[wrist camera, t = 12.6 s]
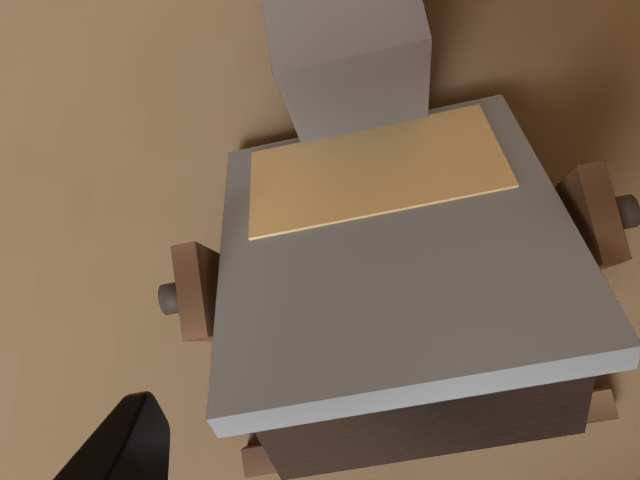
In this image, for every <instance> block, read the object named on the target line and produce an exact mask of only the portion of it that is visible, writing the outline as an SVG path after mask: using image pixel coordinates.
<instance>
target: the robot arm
mask: <svg viewBox="0 0 640 480" xmlns="http://www.w3.org/2000/svg"><path fill="white" fill-rule="evenodd" d="M169 449H170V427H169V424H168V421H167V419H166V417H165V415H164V413H163V411H162V410H161V408H160V406H159V404H158V402H157V400H156V399H155V397H154V395H153V394H152V393H151V392H147V391H145V392H139V393H133V394H129V395H126V396H125V397H124V398H123V399H122V400H121V401H120V402H119V403H118V404H117V406H116V407H115V408H114V409H113V410H112V411H111V413H110V414H109V415H108V416H107V417H106V418H105V420H104V421H103V422H102V423H101V424H100V425H99V427H98V428H97V429H96V430H95V431H94V432H93V433H92V435H91V436H90V437H89V438H88V439H87V440H86V442H85V443H84V444H83V445H82V446H81V447H80V449H79V450H78V451H77V452H76V453H75V454H74V456H73V457H72V458H71V459H70V460H69V461H68V463H67V464H66V465H65V466H64V467H63V468H62V470H61V471H60V472H59V473H58V474H57V475H56V477H55V478H54V479H53V480H168V468H169Z"/></svg>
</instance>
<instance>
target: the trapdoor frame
mask: <svg viewBox="0 0 640 480" xmlns="http://www.w3.org/2000/svg"><path fill="white" fill-rule="evenodd" d="M555 190H556V192H557V193H558V195H559V197H560V199H561V201H562V202H563V204H564V206H565V208H566V209H567V211H568V213H569V215H570V217H571V218H572V220H573V222H574V224H575V226H576V227H577V229H578V231H579V233H580V234H581V236H582V238H583V240H584V242H585V243H586V245H587V247H588V249H589V250H590V252H591V254H592V256H593V258H594V259H595V261H596V263H597V265H598V266H599V268H600V270H603V269H606V268H608V267H611V266H614V265H616V264H619V263H622V262H625V261H627V260H630V259H632V257H631V254H630V250H629V247H628V243H627V240H626V236H625V232H624V229H627V228H632V227H637V226H639V224H640V207H639V204H638V202H637V200H636V198H635V197H634V196H633V195H625V196H620V197H615V196H614V193H613V189H612V186H611V182H610V178H609V175H608V171H607V168H606V164H605V160H601V161H596V162H591V163H586V164H581V165H576V166H575V167H574V168H573V169H572V170H571V171H570V173H569V174H568V175H567V176H566V177H565V178H564V179H563V180H562V181H561V182H560V183H559V184H558V185H557V186H556V187H555ZM171 253H172V261H173V269H174V277H175V282H174V283H169V284H164V285H160V287H159V290H158V299H159V304H160V307H161V310H162V312H163V313H164V314H165V315H169V314H174V313H179V316H180V324H181V332H182V340H183V341H213V331H214V320H215V308H216V296H217V284H218V272H219V260H220V254H219V253H217V252H215V251H213V250H211V249H209V248H207V247H205V246H203V245H201V244H199V243H197V242H195V241H194V242H189V243H184V244H179V245H174V246H171ZM613 419H619V417H618V413H617V409H616V405H615V401H614V397H613V394H612V390H611V389H608V388H598V389H593V394H592V399H591V404H590V409H589V413H588V418H587V423H594V422H600V421H606V420H613ZM587 423H586V424H587ZM241 452H242V459H243V466H244V474H245V478H246V477H253V476H259V475H265V474H271V473H277V471H276V469H275V468H274V466H273V464H272V462H271V461H270V459H269V457H268V455H267V454H266V452H265V450H264V449H263V447H262V445H261V444H255V445H249V446H246V447H244V448H243V449H241Z"/></svg>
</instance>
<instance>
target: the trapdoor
mask: <svg viewBox="0 0 640 480" xmlns="http://www.w3.org/2000/svg"><path fill="white" fill-rule="evenodd" d="M639 359H640V340H639V338H638V336H637V334H636V332H635V331H634V329H633V327H632V325H631V324H630V322H629V320H628V318H627V316H626V315H625V313H624V311H623V309H622V307H621V306H620V304H619V302H618V300H617V299H616V297H615V295H614V293H613V291H612V290H611V288H610V286H609V284H608V283H607V281H606V279H605V277H604V275H603V274H602V272H601V270H600V268H599V266H598V265H597V263H596V261H595V259H594V258H593V256H592V254H591V252H590V250H589V249H588V247H587V245H586V243H585V242H584V240H583V238H582V236H581V234H580V233H579V231H578V229H577V227H576V226H575V224H574V222H573V220H572V218H571V217H570V215H569V213H568V211H567V209H566V208H565V206H564V204H563V202H562V201H561V199H560V197H559V195H558V193H557V192H556V190H555V188H554V186H553V185H552V183H551V181H550V179H549V177H548V176H547V174H546V172H545V170H544V169H543V167H542V165H541V163H540V161H539V160H538V158H537V156H536V154H535V152H534V151H533V149H532V147H531V145H530V144H529V142H528V140H527V138H526V136H525V135H524V133H523V131H522V129H521V128H520V126H519V124H518V122H517V120H516V119H515V117H514V115H513V113H512V112H511V110H510V108H509V106H508V104H507V103H506V101H505V99H504V97H503V95H502V94H500V95H495V96H491V97H486V98H481V99H477V100H472V101H467V102H462V103H458V104H453V105H448V106H444V107H439V108H434V109H430V110H428V117H424V118H420V119H415V120H410V121H405V122H401V123H396V124H391V125H386V126H381V127H377V128H372V129H367V130H362V131H358V132H353V133H348V134H343V135H338V136H334V137H329V138H324V139H319V140H315V141H310V142H305V143H301V142H300V140H299V137H298V138H293V139H289V140H284V141H279V142H275V143H270V144H265V145H260V146H256V147H251V148H246V149H242V150H237V151H232V152H229V154H228V166H227V178H226V189H225V201H224V213H223V225H222V237H221V249H220V260H219V272H218V284H217V296H216V308H215V320H214V331H213V343H212V355H211V367H210V379H209V391H208V403H207V414H206V420H207V422H208V423H209V425H210V426H211V428H212V429H213V431H214V432H215V434H216V435H217V437H218V438H223V437H229V436H235V435H241V434H247V433H253V432H254V433H255V435H256V436H257V438H258V440H259V442H260V443H261V445H262V447H263V449H264V450H265V452H266V454H267V455H268V457H269V459H270V461H271V462H272V464H273V466H274V468H275V469H276V471H277V473H278V475H279V476H280V478H281V480H287V479H293V478H300V477H306V476H312V475H319V474H325V473H331V472H338V471H344V470H350V469H357V468H363V467H370V466H376V465H382V464H389V463H395V462H401V461H408V460H414V459H421V458H427V457H433V456H440V455H446V454H452V453H459V452H465V451H472V450H478V449H484V448H491V447H497V446H503V445H510V444H516V443H523V442H529V441H535V440H542V439H548V438H554V437H561V436H567V435H574V434H580V433H585V428H586V423H587V418H588V413H589V409H590V404H591V399H592V394H593V389H594V384H595V379H596V376H597V375H603V374H609V373H615V372H621V371H628V370H634V369H637V366H638V362H639Z"/></svg>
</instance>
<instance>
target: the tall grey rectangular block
mask: <svg viewBox="0 0 640 480" xmlns="http://www.w3.org/2000/svg"><path fill="white" fill-rule="evenodd" d="M262 7H263V13H264V20H265V27H266V33H267V40H268V47H269V53H270V60H271V67H272V74H273V76H274V79H275V81H276V84H277V86H278V88H279V91H280V93H281V96H282V98H283V101H284V103H285V105H286V108H287V110H288V113H289V115H290V118H291V120H292V123H293V125H294V127H295V130H296V132H297V135H298V137H299V140H300V142H301V143H305V142H310V141H315V140H319V139H324V138H329V137H334V136H338V135H343V134H348V133H353V132H358V131H362V130H367V129H372V128H377V127H381V126H386V125H391V124H396V123H401V122H405V121H410V120H415V119H420V118H424V117H428V107H429V87H430V67H431V47H432V37H431V33H430V29H429V25H428V21H427V17H426V12H425V8H424V4H423V0H262Z"/></svg>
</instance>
